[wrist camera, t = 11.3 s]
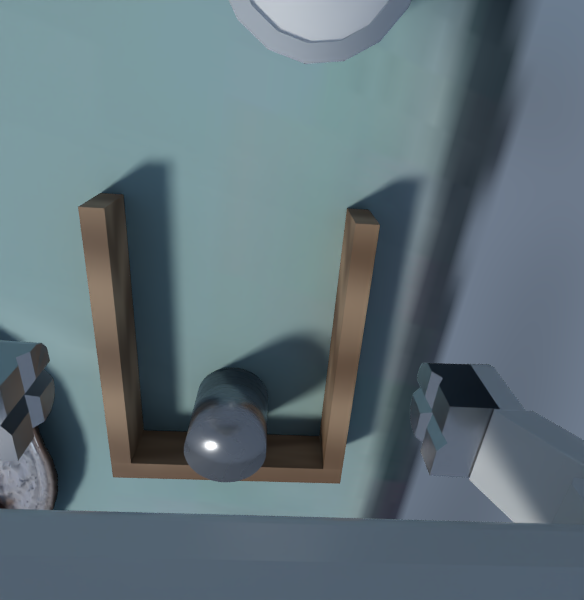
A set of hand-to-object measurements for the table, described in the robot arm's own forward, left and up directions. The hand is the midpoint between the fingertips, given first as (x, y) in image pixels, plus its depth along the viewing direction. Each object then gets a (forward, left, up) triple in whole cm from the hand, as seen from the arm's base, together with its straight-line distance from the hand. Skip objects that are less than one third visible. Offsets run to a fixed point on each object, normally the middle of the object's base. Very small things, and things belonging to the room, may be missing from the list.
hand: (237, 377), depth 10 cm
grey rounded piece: (+13, -1, -16) cm, 21 cm away
